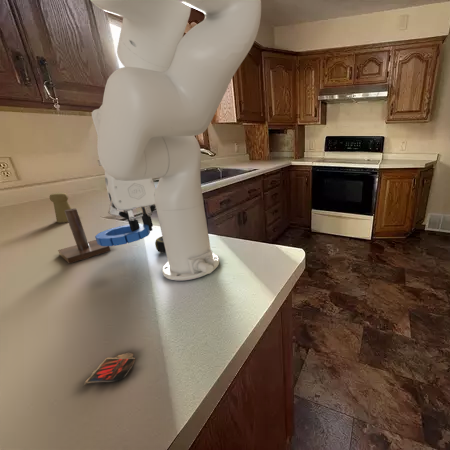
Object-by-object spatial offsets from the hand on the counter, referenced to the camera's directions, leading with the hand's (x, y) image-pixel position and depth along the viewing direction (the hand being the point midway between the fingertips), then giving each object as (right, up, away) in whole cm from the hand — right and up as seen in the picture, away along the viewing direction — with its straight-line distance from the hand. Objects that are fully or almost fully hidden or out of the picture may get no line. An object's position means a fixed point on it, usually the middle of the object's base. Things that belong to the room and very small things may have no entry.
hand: (143, 231), depth 67 cm
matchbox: (+18, -18, -34) cm, 43 cm away
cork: (-50, +3, +30) cm, 58 cm away
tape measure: (+8, -5, +2) cm, 9 cm away
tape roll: (-3, -2, -3) cm, 5 cm away
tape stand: (-17, -6, +1) cm, 18 cm away
